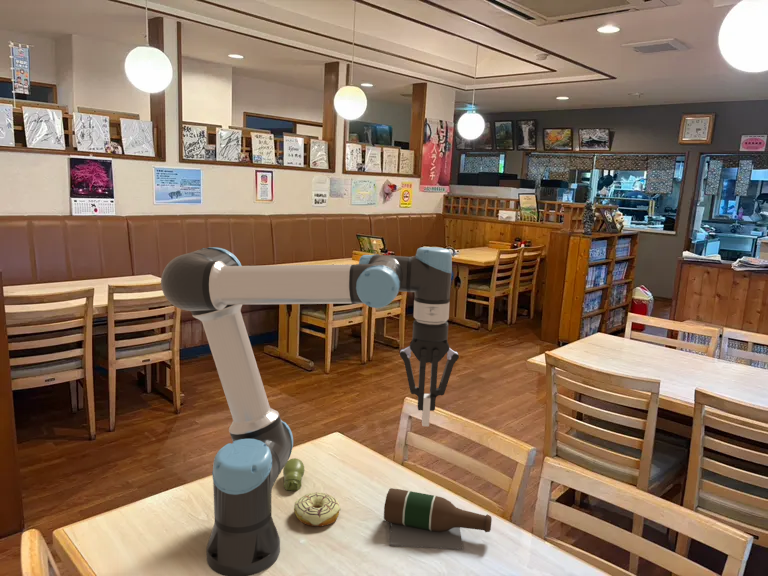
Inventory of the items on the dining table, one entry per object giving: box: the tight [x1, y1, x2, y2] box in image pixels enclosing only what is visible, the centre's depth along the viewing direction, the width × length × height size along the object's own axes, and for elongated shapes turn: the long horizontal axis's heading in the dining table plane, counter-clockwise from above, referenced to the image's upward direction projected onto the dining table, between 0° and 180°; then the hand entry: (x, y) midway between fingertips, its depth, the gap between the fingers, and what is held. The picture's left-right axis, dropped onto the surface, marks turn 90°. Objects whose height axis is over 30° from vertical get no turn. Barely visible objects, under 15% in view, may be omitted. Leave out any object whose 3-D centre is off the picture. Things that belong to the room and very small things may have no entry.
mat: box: [389, 523, 464, 551], centre depth 129 cm, size 16×12×1 cm
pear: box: [282, 457, 305, 492], centre depth 147 cm, size 6×5×10 cm
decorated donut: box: [293, 492, 341, 527], centre depth 133 cm, size 10×11×4 cm
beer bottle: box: [383, 487, 493, 533], centre depth 128 cm, size 8×8×24 cm
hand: (425, 423), depth 124 cm, fingers closed
